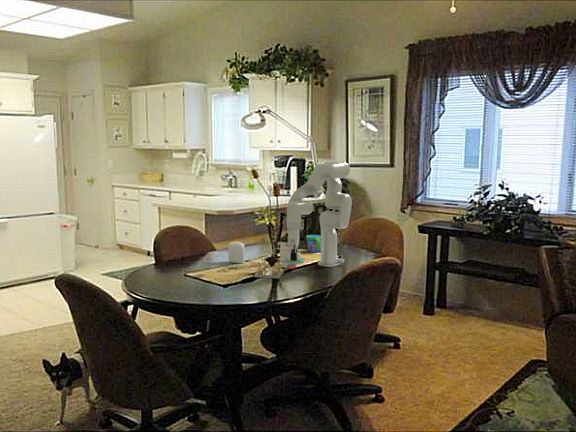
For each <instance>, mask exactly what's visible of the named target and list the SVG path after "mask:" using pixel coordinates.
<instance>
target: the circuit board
mask: <svg viewBox="0 0 576 432" xmlns="http://www.w3.org/2000/svg"><path fill="white" fill-rule="evenodd" d="M296 253H297V260H291V252H289V253H288V258H286V259H285V260H284V263H287V264H296V265H299V264H303V263H304V262H305V259H306V258H305V257H302V256H301V252H299V251H298V252H296Z"/></svg>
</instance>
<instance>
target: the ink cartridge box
mask: <svg viewBox="0 0 576 432" xmlns="http://www.w3.org/2000/svg"><path fill="white" fill-rule="evenodd" d="M279 247H280V248H279V262H281V263H282V267H284V268H283V269H289V268H290V270H294V269H296V268H297V264H287V263H284V260H285V259H286V258H288V253H289V252H291V246H290V247H288V242H283V241H281V242H280V246H279Z"/></svg>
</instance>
